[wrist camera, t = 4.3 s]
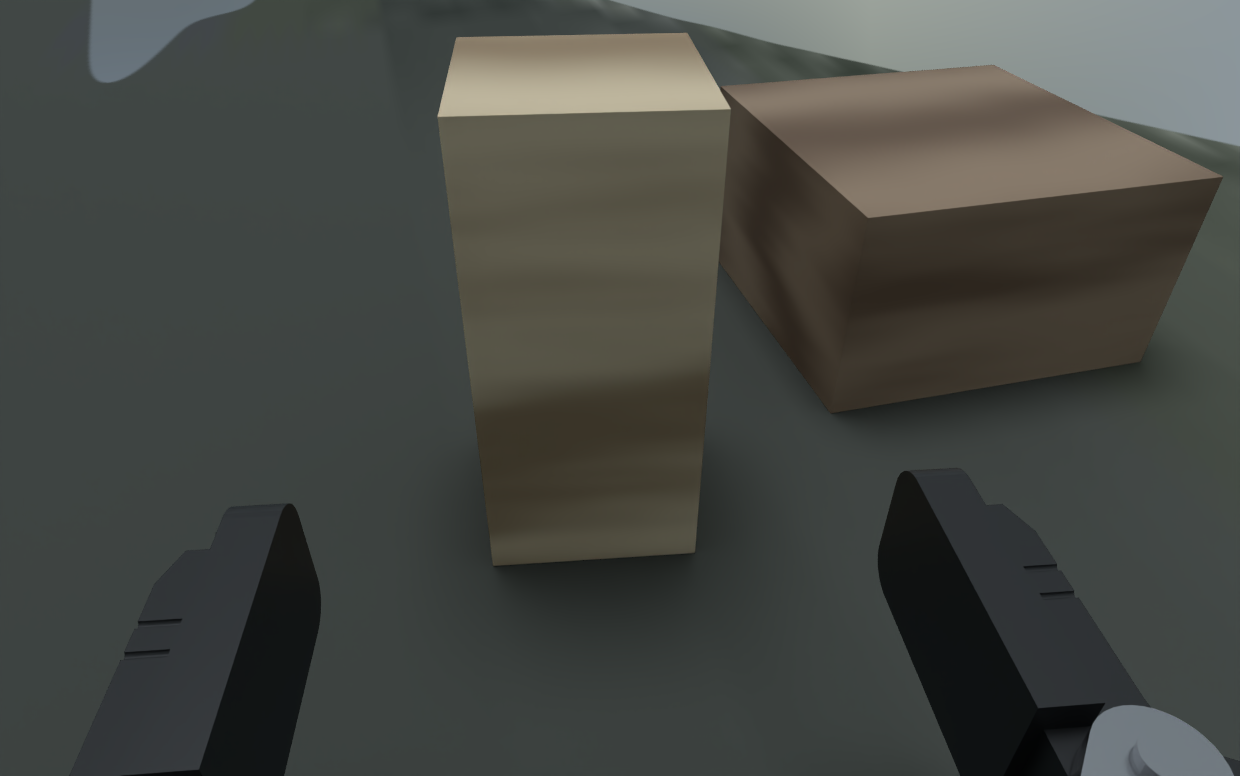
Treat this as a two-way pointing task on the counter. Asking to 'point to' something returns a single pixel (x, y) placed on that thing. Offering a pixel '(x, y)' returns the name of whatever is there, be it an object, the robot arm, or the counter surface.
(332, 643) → the counter surface
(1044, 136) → the walnut base
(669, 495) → the oak block
